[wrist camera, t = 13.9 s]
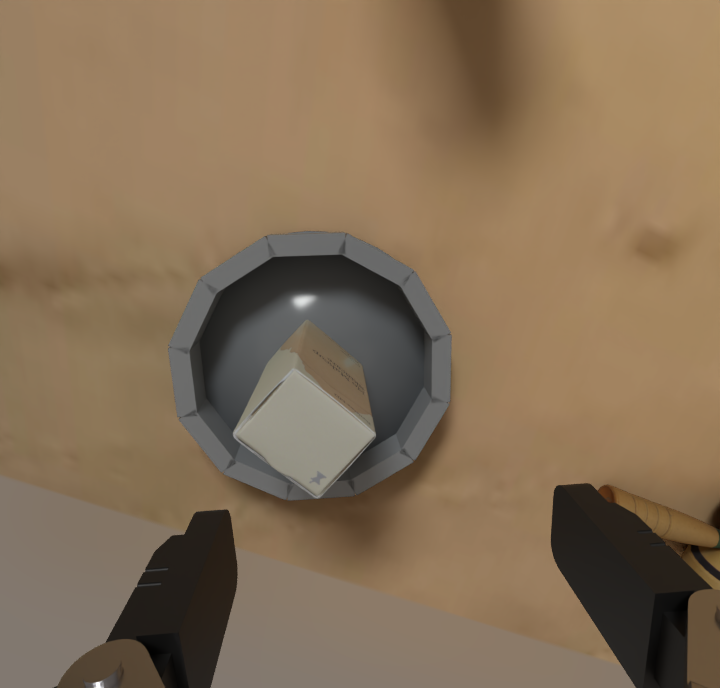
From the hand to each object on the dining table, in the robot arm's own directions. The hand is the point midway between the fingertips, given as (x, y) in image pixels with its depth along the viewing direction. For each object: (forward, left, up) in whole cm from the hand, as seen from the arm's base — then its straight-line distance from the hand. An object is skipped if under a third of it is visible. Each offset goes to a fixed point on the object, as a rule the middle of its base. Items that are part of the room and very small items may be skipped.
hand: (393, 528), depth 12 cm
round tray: (+2, +2, -21) cm, 21 cm away
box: (+3, +2, -20) cm, 20 cm away
